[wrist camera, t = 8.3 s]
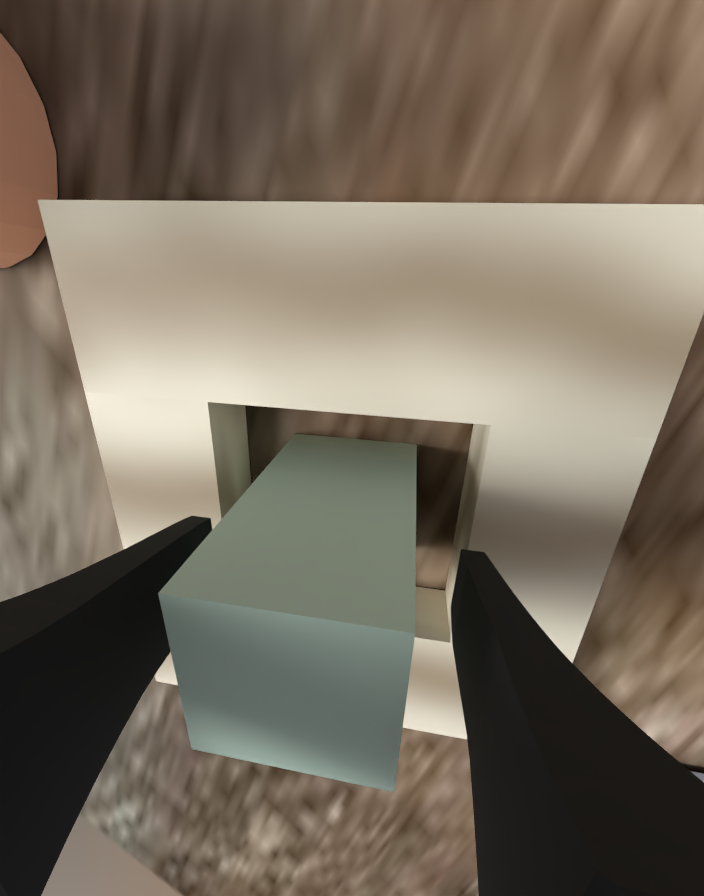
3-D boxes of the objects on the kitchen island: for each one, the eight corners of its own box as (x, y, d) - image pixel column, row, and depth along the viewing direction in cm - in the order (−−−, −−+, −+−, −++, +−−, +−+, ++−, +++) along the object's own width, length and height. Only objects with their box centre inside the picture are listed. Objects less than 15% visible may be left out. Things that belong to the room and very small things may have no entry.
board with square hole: (522, 690, 17) (538, 753, 15) (187, 633, 19) (156, 681, 17) (668, 224, 10) (743, 204, 8) (109, 216, 12) (37, 199, 10)
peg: (405, 547, 15) (393, 791, 8) (297, 533, 16) (191, 748, 8) (416, 444, 13) (415, 633, 6) (295, 433, 14) (157, 593, 7)
